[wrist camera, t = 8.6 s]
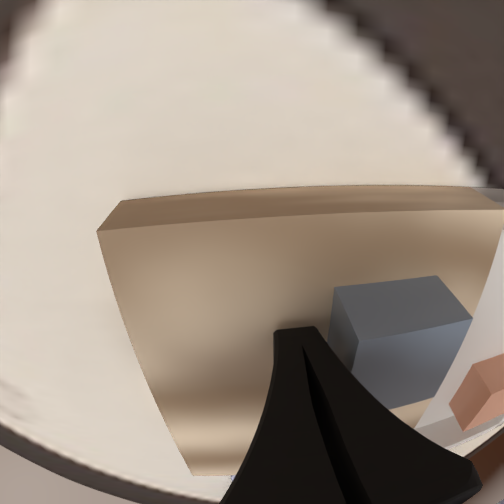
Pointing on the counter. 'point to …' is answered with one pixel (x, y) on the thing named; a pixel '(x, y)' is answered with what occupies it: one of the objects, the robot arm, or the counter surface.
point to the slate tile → (398, 336)
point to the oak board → (271, 287)
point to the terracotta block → (480, 393)
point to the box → (471, 353)
